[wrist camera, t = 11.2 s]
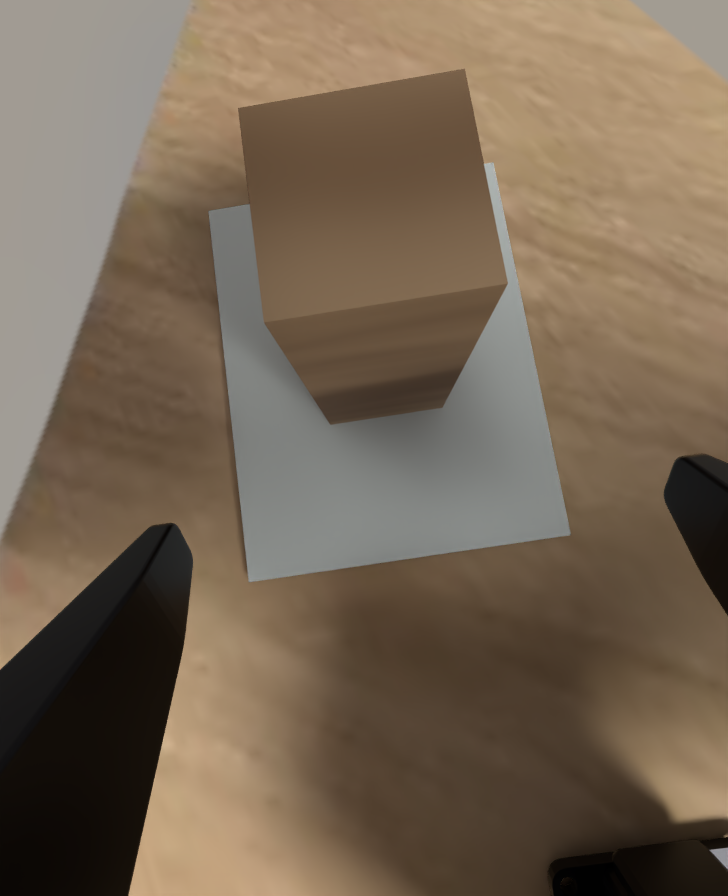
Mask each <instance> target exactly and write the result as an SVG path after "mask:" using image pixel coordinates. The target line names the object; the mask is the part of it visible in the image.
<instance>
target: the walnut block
mask: <svg viewBox="0 0 728 896" xmlns="http://www.w3.org/2000/svg"><path fill="white" fill-rule="evenodd" d="M238 111H239V120H240V128H241V136H242V145H243V153H244V161H245V170H246V178H247V186H248V195H249V203H250V211H251V220H252V228H253V236H254V245H255V253H256V261H257V270H258V278H259V286H260V295H261V303H262V311H263V320H264V324H265V325H266V327H267V328H268V330H269V331H270V333H271V334H272V336H273V337H274V339H275V340H276V342H277V344H278V345H279V347H280V348H281V350H282V351H283V353H284V354H285V356H286V357H287V359H288V360H289V362H290V363H291V365H292V367H293V368H294V370H295V371H296V373H297V374H298V376H299V377H300V379H301V380H302V382H303V383H304V385H305V387H306V388H307V390H308V391H309V393H310V394H311V396H312V397H313V399H314V400H315V402H316V403H317V405H318V406H319V408H320V410H321V411H322V413H323V414H324V416H325V417H326V419H327V420H328V422H329V423H330V425H333V424H339V423H346V422H352V421H359V420H365V419H372V418H378V417H385V416H392V415H398V414H405V413H411V412H418V411H424V410H431V409H437V408H443V406H444V404H445V402H446V400H447V398H448V396H449V394H450V392H451V391H452V389H453V387H454V385H455V383H456V381H457V379H458V377H459V375H460V374H461V372H462V370H463V368H464V366H465V364H466V362H467V360H468V358H469V357H470V355H471V353H472V351H473V349H474V347H475V345H476V343H477V341H478V339H479V338H480V336H481V334H482V332H483V330H484V328H485V326H486V324H487V322H488V321H489V319H490V317H491V315H492V313H493V311H494V309H495V307H496V305H497V304H498V302H499V300H500V298H501V296H502V294H503V292H504V290H505V288H506V286H507V285H508V281H507V276H506V271H505V266H504V261H503V256H502V251H501V246H500V241H499V236H498V231H497V226H496V221H495V216H494V211H493V207H492V202H491V197H490V192H489V187H488V182H487V177H486V172H485V167H484V162H483V157H482V152H481V147H480V142H479V137H478V132H477V127H476V122H475V117H474V112H473V107H472V102H471V98H470V93H469V88H468V83H467V78H466V73H465V69H461V70H455V71H449V72H444V73H438V74H432V75H426V76H421V77H415V78H409V79H403V80H398V81H392V82H386V83H380V84H374V85H369V86H363V87H357V88H351V89H346V90H340V91H334V92H328V93H323V94H317V95H311V96H305V97H300V98H294V99H288V100H282V101H277V102H271V103H265V104H259V105H254V106H248V107H242V108H238Z"/></svg>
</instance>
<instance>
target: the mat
mask: <svg viewBox="0 0 728 896" xmlns="http://www.w3.org/2000/svg"><path fill="white" fill-rule="evenodd" d="M484 167H485V172H486V177H487V182H488V187H489V192H490V197H491V202H492V207H493V211H494V216H495V221H496V226H497V231H498V236H499V241H500V246H501V251H502V256H503V261H504V266H505V271H506V276H507V281H508V285H507V286H506V288H505V290H504V292H503V294H502V296H501V298H500V300H499V302H498V304H497V305H496V307H495V309H494V311H493V313H492V315H491V317H490V319H489V321H488V322H487V324H486V326H485V328H484V330H483V332H482V334H481V336H480V338H479V339H478V341H477V343H476V345H475V347H474V349H473V351H472V353H471V355H470V357H469V358H468V360H467V362H466V364H465V366H464V368H463V370H462V372H461V374H460V375H459V377H458V379H457V381H456V383H455V385H454V387H453V389H452V391H451V392H450V394H449V396H448V398H447V400H446V402H445V404H444V406H443V408H437V409H431V410H424V411H418V412H411V413H405V414H398V415H392V416H385V417H378V418H372V419H365V420H359V421H352V422H346V423H339V424H333V425H330V423H329V422H328V420H327V419H326V417H325V416H324V414H323V413H322V411H321V410H320V408H319V406H318V405H317V403H316V402H315V400H314V399H313V397H312V396H311V394H310V393H309V391H308V390H307V388H306V387H305V385H304V383H303V382H302V380H301V379H300V377H299V376H298V374H297V373H296V371H295V370H294V368H293V367H292V365H291V363H290V362H289V360H288V359H287V357H286V356H285V354H284V353H283V351H282V350H281V348H280V347H279V345H278V344H277V342H276V340H275V339H274V337H273V336H272V334H271V333H270V331H269V330H268V328H267V327H266V325H265V324H264V320H263V311H262V303H261V295H260V286H259V278H258V270H257V261H256V253H255V245H254V236H253V228H252V220H251V211H250V204H246V205H240V206H234V207H228V208H223V209H217V210H211V211H208V212H209V221H210V230H211V239H212V249H213V258H214V267H215V276H216V285H217V294H218V304H219V313H220V322H221V331H222V340H223V349H224V359H225V368H226V377H227V386H228V395H229V404H230V414H231V423H232V432H233V441H234V450H235V459H236V469H237V478H238V487H239V496H240V505H241V515H242V524H243V533H244V542H245V551H246V560H247V570H248V579H249V582H254V581H261V580H268V579H275V578H282V577H288V576H295V575H302V574H309V573H316V572H323V571H329V570H336V569H343V568H350V567H357V566H363V565H370V564H377V563H384V562H391V561H398V560H404V559H411V558H418V557H425V556H432V555H439V554H445V553H452V552H459V551H466V550H473V549H479V548H486V547H493V546H500V545H507V544H514V543H520V542H527V541H534V540H541V539H548V538H555V537H561V536H568V535H571V533H570V528H569V523H568V518H567V513H566V509H565V504H564V499H563V494H562V490H561V485H560V480H559V475H558V470H557V466H556V461H555V456H554V451H553V446H552V442H551V437H550V432H549V427H548V422H547V418H546V413H545V408H544V403H543V398H542V394H541V389H540V384H539V379H538V374H537V370H536V365H535V360H534V355H533V350H532V346H531V341H530V336H529V331H528V326H527V322H526V317H525V312H524V307H523V303H522V298H521V293H520V288H519V283H518V279H517V274H516V269H515V264H514V259H513V255H512V250H511V245H510V240H509V235H508V231H507V226H506V221H505V216H504V211H503V207H502V202H501V197H500V192H499V187H498V183H497V178H496V173H495V168H494V163H487V164H484Z"/></svg>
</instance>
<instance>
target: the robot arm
mask: <svg viewBox="0 0 728 896" xmlns="http://www.w3.org/2000/svg"><path fill="white" fill-rule="evenodd" d="M664 499H665V503H666V505H667V507H668V509H669V511H670V513H671V515H672V517H673V519H674V521H675V523H676V525H677V527H678V529H679V531H680V533H681V535H682V537H683V539H684V541H685V543H686V545H687V547H688V549H689V551H690V553H691V555H692V557H693V559H694V561H695V563H696V565H697V567H698V568H699V570H700V572H701V574H702V576H703V577H704V579H705V581H706V582H707V584H708V586H709V587H710V589H711V591H712V592H713V594H714V595H715V597H716V598H717V600H718V601H719V603H720V605H721V606H722V608H723V609H724V611H725V612H726V614H727V615H728V463H726V462H724V461H721V460H719V459H717V458H714V457H712V456H710V455H707V454H693V455H685V456H681V457H678V458H677V459H676V460H675V462H674V464H673V467H672V470H671V472H670V475H669V478H668V481H667V484H666V486H665V489H664ZM192 568H193V557H192V553H191V550H190V549H189V547H188V545H187V543H186V541H185V539H184V537H183V535H182V533H181V531H180V529H179V528H178V526H177V525H176V524H174V523H166V524H158V525H153V526H151V527H149V528H148V529H147V530H146V531H145V532H144V533H143V534H142V535H141V536H140V537H138V538H137V539H136V540H135V541H134V542H133V543H132V544H131V545H130V546H129V547H128V548H127V549H126V550H125V551H124V552H123V553H122V554H121V555H120V556H119V557H118V558H117V559H116V560H114V561H113V562H112V563H111V564H110V565H109V566H108V567H107V568H106V569H105V570H104V571H103V572H102V573H101V574H100V575H99V576H98V577H97V578H96V579H95V580H94V581H93V582H91V583H90V584H89V585H88V586H87V587H86V588H85V589H84V590H83V591H82V592H81V593H80V594H79V595H78V596H77V597H76V598H75V599H74V600H73V601H72V602H71V603H70V604H69V605H67V606H66V607H65V608H64V609H63V610H62V611H61V612H60V613H59V614H58V615H57V616H56V617H55V618H54V619H53V620H52V621H51V622H50V623H49V624H48V625H47V626H46V627H44V628H43V629H42V630H41V631H40V632H39V633H38V634H37V635H36V636H35V637H34V638H33V639H32V640H31V641H30V642H29V643H28V644H27V645H26V646H25V647H24V648H23V649H22V650H20V651H19V652H18V653H17V654H16V655H15V656H14V657H13V658H12V659H11V660H10V661H9V662H8V663H7V664H6V665H5V666H4V667H3V668H2V669H1V670H0V896H128V894H129V890H130V885H131V881H132V876H133V872H134V867H135V863H136V858H137V854H138V849H139V845H140V841H141V836H142V832H143V827H144V823H145V818H146V814H147V809H148V805H149V800H150V796H151V791H152V787H153V782H154V778H155V773H156V769H157V764H158V760H159V755H160V751H161V746H162V742H163V737H164V733H165V728H166V724H167V719H168V715H169V710H170V706H171V701H172V697H173V692H174V688H175V683H176V679H177V674H178V670H179V665H180V661H181V656H182V651H183V646H184V640H185V633H186V624H187V615H188V606H189V596H190V587H191V578H192ZM566 877H571V878H572V881H571V882H570V884H568V885H561V881H562V880H563V879H564V878H566ZM548 881H549V887H550V892H551V896H728V837H726V838H718V839H710V840H702V841H698V840H686V841H678V842H670V843H662V844H654V845H646V846H638V847H631V848H623V849H618V850H617V851H616V852H608V853H600V854H592V855H584V856H576V857H568V858H561V859H558V860H555V861H554V862H553V863H552V864H551V865H550V867H549V870H548Z"/></svg>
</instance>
